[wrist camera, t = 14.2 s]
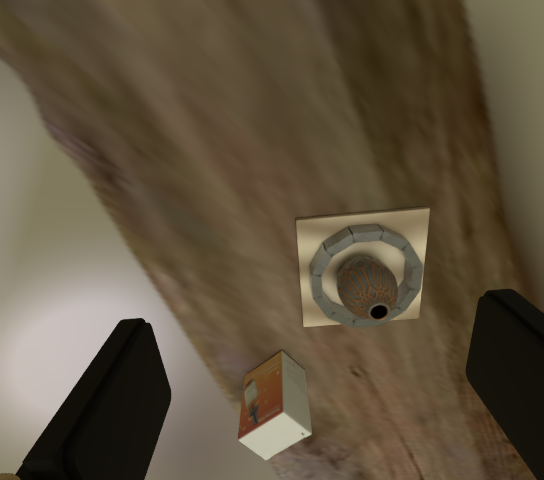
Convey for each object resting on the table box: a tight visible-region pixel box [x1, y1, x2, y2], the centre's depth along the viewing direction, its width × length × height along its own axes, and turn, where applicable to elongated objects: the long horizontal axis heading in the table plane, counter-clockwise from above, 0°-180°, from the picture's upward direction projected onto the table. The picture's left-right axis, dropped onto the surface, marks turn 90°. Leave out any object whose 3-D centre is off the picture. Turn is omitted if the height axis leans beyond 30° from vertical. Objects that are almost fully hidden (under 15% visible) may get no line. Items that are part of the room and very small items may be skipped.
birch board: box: [296, 206, 430, 327], centre depth 42 cm, size 16×16×1 cm
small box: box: [238, 351, 312, 460], centre depth 45 cm, size 8×6×10 cm
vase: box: [336, 256, 398, 322], centre depth 38 cm, size 7×7×9 cm
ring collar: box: [309, 223, 423, 327], centre depth 41 cm, size 13×13×2 cm
